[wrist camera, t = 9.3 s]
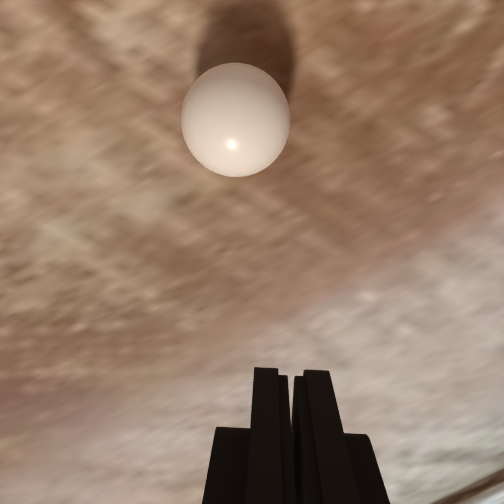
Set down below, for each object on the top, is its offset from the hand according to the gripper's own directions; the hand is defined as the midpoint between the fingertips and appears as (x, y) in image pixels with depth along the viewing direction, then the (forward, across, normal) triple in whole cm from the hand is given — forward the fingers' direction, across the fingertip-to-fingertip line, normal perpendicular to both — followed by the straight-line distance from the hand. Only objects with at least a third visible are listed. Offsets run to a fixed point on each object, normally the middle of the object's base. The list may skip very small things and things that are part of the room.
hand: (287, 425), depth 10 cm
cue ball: (+14, +2, -6) cm, 16 cm away
